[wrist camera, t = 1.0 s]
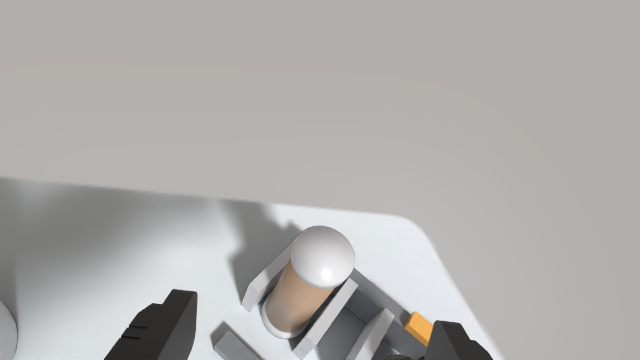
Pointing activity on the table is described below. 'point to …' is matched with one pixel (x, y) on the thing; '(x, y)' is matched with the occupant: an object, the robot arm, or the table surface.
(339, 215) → the table surface
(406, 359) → the salt shaker
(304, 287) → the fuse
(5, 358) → the robot arm
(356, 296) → the fuse rail
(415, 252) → the table surface
